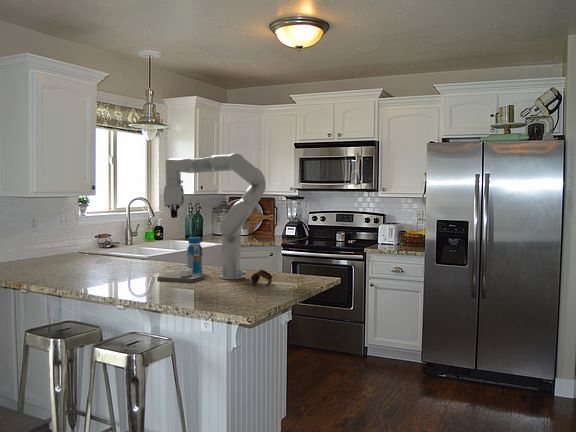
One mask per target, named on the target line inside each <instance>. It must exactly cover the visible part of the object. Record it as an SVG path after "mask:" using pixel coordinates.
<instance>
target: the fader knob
mask: <svg viewBox="0 0 576 432" xmlns="http://www.w3.org/2000/svg"><path fill="white" fill-rule="evenodd" d="M179 274H180V276H185V277H187V276H190V275H192V269H190V268H188V267H187V268H183V269H179Z"/></svg>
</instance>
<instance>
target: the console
mask: <svg viewBox="0 0 576 432" xmlns="http://www.w3.org/2000/svg"><path fill="white" fill-rule="evenodd" d="M204 279H205V275H204V274H198V275H195V274H192V275H190V276H187V277H185V276H180V273H174V272H173V273H172V272H169V273H164V274H162V275H159V276H157V281H158V282H171V283H172V282H173V283H174V282H176V283H189V284H190V283H191V284H193V283H197V282H199V281H201V280H204Z"/></svg>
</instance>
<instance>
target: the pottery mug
mask: <svg viewBox="0 0 576 432" xmlns="http://www.w3.org/2000/svg"><path fill="white" fill-rule="evenodd" d="M261 278H263V279H265V280H267V283H266V285H267V286H270V285H271V284H272V282H273V280H272V279H273V275H272V274H270V272H268V271H266V270H264V269H259V271H257V272H255V273H253V274H252V275H251V276H250V279H251V284H250V285H252V286H254V285H257V284H258V282H259V280H260V279H261Z"/></svg>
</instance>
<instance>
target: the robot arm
mask: <svg viewBox="0 0 576 432" xmlns="http://www.w3.org/2000/svg"><path fill="white" fill-rule="evenodd" d="M230 171H233V172H234V173H235V174H236V175H238V176H239V177H240V178H242V179H243V180H244V181H245V182H247V183H248V184H249V186H248V187H247V189H246V190H245V192H244V194H243V195H242V197H241V198H240V199H239V200H238V201H237V202H235V203H234V204H232V206H231V208H230V209H229V211H228V212H227V213H226V215H225V216H224V217H223V219H222V220H221V222H220V223H219V231H220V233H221V235H222V236H221V237H222V240H221V241H222V243H221V244H222V245H221V247H222V248H221V249H222V250H221V251H222V253H221V254H222V256H221V257H222V258H221V260H222V261H221V262H222V265H221V266H222V268H221V273H222V274H220V275H219V278H220V279H223V280H238V279H239V280H240V279H243V278H244V276H248V273H249V272H248V271H246V270H243V268H241V266H242V265H241V247H242V246H241V245H242V244H241V235H242V226H243V225H244V224H245V222H246V220H247V219H248V218H249V217H250V216H251V214H252V213H253V211H254V209H255V207H256V206H257V205H258V203H259V201H260V200H261V198H262V197H263V195H264V193H265V191H266V187H267V186H266V184H267V182H266V177H265V176H264V173H263V172H262V171H261V170H260V169H259V168H257V167H256V166H255V165H253V164H252V163H250V161H248V160H247V159H245V157H244V156H243V155H242V154H241V153H238V152H232V153H231V154H229V153H228V154H214V155H211V156H208V157H203V158H202V157H201V158H190V157H183V158H167V159H166V160H165V185H164V188H163V189H164V190H163V203H164V204H163V206H164V207H166V208H168V209H169V210H170V217H171V219H175V218H178V211H179V209H180V208H182V207H184V204H185V192H184V187H183V185H182V184H183V183H184V180H182V178H181V176H182V175H181V174H182V173H185V174H186V173H187V174H195V173H196V174H197V173H215V172H217V173H218V172H230Z"/></svg>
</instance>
